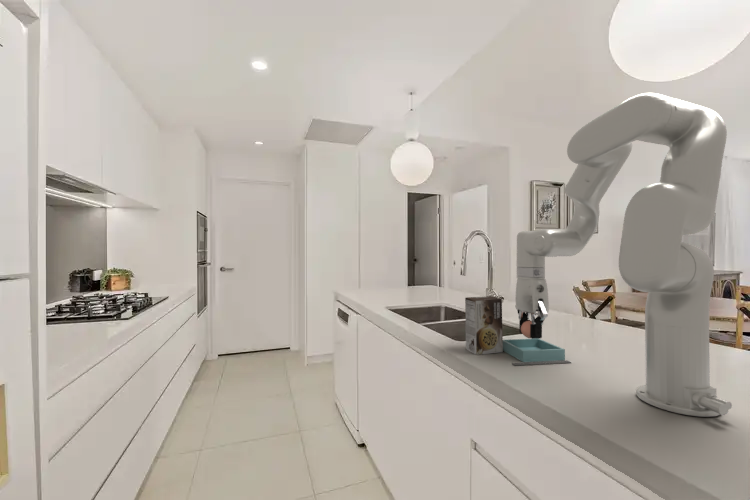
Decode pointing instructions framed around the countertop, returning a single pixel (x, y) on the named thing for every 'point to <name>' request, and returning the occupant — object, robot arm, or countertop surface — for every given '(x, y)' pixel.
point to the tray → (533, 350)
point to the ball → (526, 328)
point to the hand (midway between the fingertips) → (530, 335)
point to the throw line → (541, 363)
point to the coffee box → (484, 325)
